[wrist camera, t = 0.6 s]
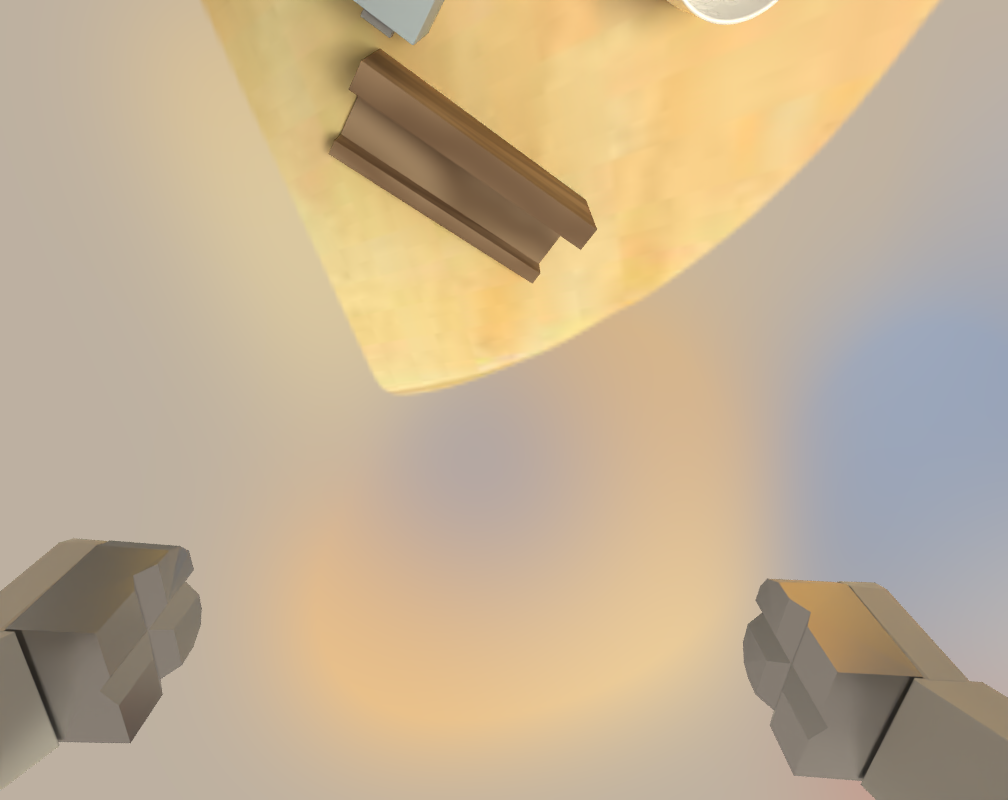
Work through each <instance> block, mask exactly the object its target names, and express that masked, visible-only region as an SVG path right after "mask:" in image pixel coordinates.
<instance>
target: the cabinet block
mask: <svg viewBox="0 0 1008 800" xmlns="http://www.w3.org/2000/svg"><path fill="white" fill-rule="evenodd" d="M353 1H355V2H356V3H357V4H359V5H360V6H361V7H363V8H364V9H363V11H362V14H361V17H362V18H364V19H365V20H366V21H368V22H369V23H370V24H372V25H373V26H374V27H376V28H377V29H378V30H380V31H381V32H382V33H384V34H385V35H386V36H388V37H389V38H390V37H392V36H393V33H394V31H395V32H396V33H397V34H399V35H400V36H401V37H402V38H404V39H405V40H406V41H408V42H409V43H410V44H412V45H414V44H415V43H417V42H418V41H419V40H420V39H421V38H423V37H424V36H425V35H426V34H427V33H428V32H429V30H430V28H431V26H432V24H433V22H434V20H435V18H436V16H437V14H438V12H439V10H440V8H441V6H442V4H443V2H444V0H353Z"/></svg>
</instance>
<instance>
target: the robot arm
mask: <svg viewBox="0 0 1008 800" xmlns="http://www.w3.org/2000/svg"><path fill="white" fill-rule="evenodd" d="M193 569H194V568H193V565H192V561H191V557H190V553H189V551H188V550H186V549H184V548H182V547H181V546H172V545H158V544H146V543H134V542H121V541H100V540H87V539H71V540H67V541H64V542H60V543H58V544H57V545H56V546H55V547H53V548H52V549H51V550H50V551H49V552H47V553H46V554H45V555H44V556H42V558H40V559H39V560H38V561H36V562H35V563H34V564H33V565H32V566H30V567H29V568H28V569H27V570H26V571H24V572H23V573H22V574H21V575H20V576H18V577H17V578H16V579H15V580H14V581H12V582H11V583H10V584H9V585H7V586H6V587H5V588H4V589H3V590H1V591H0V791H1V790H2V789H3V788H5V787H6V786H7V785H9V784H10V783H11V782H12V781H14V780H15V779H16V778H18V777H19V776H20V775H22V774H23V773H24V772H25V771H27V770H28V769H30V768H31V767H32V766H33V765H35V764H36V763H37V762H39V761H40V760H41V759H43V758H44V757H45V756H47V755H48V754H49V753H51V752H52V751H53V750H54V749H56V748H57V747H58V746H59V742H95V743H131V741H132V740H133V739H134V737H135V735H136V734H137V732H138V731H139V729H140V728H141V726H142V725H143V723H144V722H145V720H146V719H147V717H148V716H149V714H150V713H151V711H152V709H153V708H154V707H155V705H156V704H157V702H158V701H159V699H160V698H161V696H162V687H161V678H163V677H164V676H166V675H167V674H169V673H170V672H172V671H173V670H175V669H177V668H178V667H180V666H181V665H182V664H183V662H184V661H185V659H186V658H187V656H188V654H189V652H190V651H191V650H192V648H193V646H194V643H195V640H196V637H197V634H198V631H199V628H200V625H201V609H202V608H201V603H200V597H199V594H198V593H197V592H196V591H195V590H194V589H193V588H192V587H191V586H190V585H189V584H188V583H187V582H185V581H186V580H187V578H188V577H189V576H190V574H191V573H192V571H193ZM756 602H757V604H758V605H759V607H760V609H761V611H762V613H761V614H760V615H759V616H758V617H756V618H755V619H754V620H752V621H751V622H750V623H749V624H748V626H747V630H746V634H745V637H744V641H743V651H744V664H745V668H746V672H747V675H748V679H749V681H750V683H751V685H752V688H753V690H754V692H755V694H756V695H757V696H758V697H759V698H760V699H761V700H763V701H764V702H765V703H766V704H767V705H769V706H770V707H771V708H772V709H773V710H774V712H773V716H772V720H771V723H770V726H771V729H772V731H773V733H774V735H775V737H776V739H777V741H778V743H779V745H780V747H781V750H782V752H783V754H784V756H785V758H786V760H787V762H788V764H789V766H790V768H791V771H792V772H793V775H794V776H807V777H820V778H833V779H845V780H857V781H862V783H861V785H862V786H863V787H864V788H865V789H866V790H867V791H868V792H869V793H870V794H871V795H872V796H873V797H874V798H875V799H876V800H1008V697H1006V696H1004V695H1003V694H1001V693H999V692H998V691H996V690H994V689H993V688H991V687H989V686H987V685H986V684H984V683H983V682H972V681H969V680H968V679H967V678H966V677H965V676H964V675H963V673H962V672H961V671H960V670H959V669H958V668H957V667H956V666H955V664H953V662H952V661H951V660H950V659H949V658H948V657H947V656H946V655H945V653H944V652H943V651H942V650H941V649H940V648H939V647H938V646H937V645H936V644H935V642H934V641H933V640H932V639H931V638H930V637H929V636H928V635H927V633H926V632H925V631H924V630H923V629H922V628H921V627H920V626H919V625H918V623H917V622H916V621H915V620H914V619H913V618H912V617H911V616H910V615H909V614H908V612H907V611H906V610H905V609H904V608H903V607H902V606H901V605H900V604H899V602H898V601H897V600H896V599H895V598H894V597H893V596H892V595H891V594H890V592H889V591H888V590H887V589H885V588H884V587H882V586H880V585H878V584H876V583H871V582H842V581H840V582H824V581H803V580H783V579H767V580H766V581H765V582H764V583H763V584H762V585H761V586H760V589H759V592H758V595H757V598H756Z"/></svg>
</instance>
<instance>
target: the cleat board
mask: <svg viewBox="0 0 1008 800" xmlns="http://www.w3.org/2000/svg"><path fill="white" fill-rule="evenodd" d="M349 90H350V91H351V92H353V93H354V94H356V95H357V96H358V97H357V99H356V102H355V104H354V106H353V108H352V110H351V113H350V115H349V117H348V119H347V121H346V124H345V126H344V128H343V130H342V132H341V134H340V135H339V136H338V137H337V138H336V139H335V141H334V143H333V145H332V147H331V149H330V152H329V154H330V155H331V156H333V157H334V158H336V159H337V160H339V161H341V162H342V163H344V164H345V165H347V166H348V167H350V168H352V169H353V170H355V171H356V172H358V173H359V174H361V175H363V176H364V177H366V178H367V179H369V180H370V181H372V182H374V183H375V184H377V185H378V186H380V187H381V188H383V189H385V190H386V191H388V192H389V193H391V194H392V195H394V196H396V197H397V198H399V199H400V200H402V201H403V202H405V203H407V204H408V205H410V206H411V207H413V208H415V209H416V210H418V211H419V212H421V213H422V214H424V215H426V216H427V217H429V218H430V219H432V220H433V221H435V222H437V223H438V224H440V225H441V226H443V227H444V228H446V229H448V230H449V231H451V232H452V233H454V234H455V235H457V236H459V237H460V238H462V239H463V240H465V241H466V242H468V243H470V244H471V245H473V246H474V247H476V248H477V249H479V250H481V251H482V252H484V253H485V254H487V255H488V256H490V257H492V258H493V259H495V260H496V261H498V262H499V263H501V264H503V265H504V266H506V267H507V268H509V269H510V270H512V271H514V272H515V273H517V274H518V275H520V276H521V277H523V278H525V279H526V280H528V281H529V282H531V283H533V282H534V281H535V280H536V278H537V277H538V276H539V274H540V268H539V263H540V262H541V260H542V259H543V258H544V256H545V255H546V254H547V253H548V251H549V250H550V249H551V247H552V246H553V245H554V243H555V242H556V241H557V239H558V238H559V237H560V236H562V237H563V238H564V239H566V240H567V241H569V242H570V243H572V244H573V245H575V246H576V247H577V248H579V249H580V250H581V249H582V248H583V246H584V245H585V244H586V243H587V241H588V240H589V239H590V238H591V236H592V235H593V234H594V233H595V231H596V230H597V228H596V225H595V223H594V220H593V218H592V215H591V212H590V210H589V207H588V204H587V202H586V200H585V199H584V198H582V197H581V196H580V195H578V194H577V193H576V192H574V191H573V190H572V189H570V188H569V187H567V186H566V185H565V184H563V183H562V182H561V181H559V180H558V179H557V178H555V177H554V176H552V175H551V174H550V173H548V172H547V171H546V170H544V169H543V168H542V167H540V166H539V165H538V164H536V163H535V162H533V161H532V160H531V159H529V158H528V157H527V156H525V155H524V154H523V153H521V152H520V151H518V150H517V149H516V148H514V147H513V146H512V145H510V144H509V143H508V142H506V141H505V140H503V139H502V138H501V137H499V136H498V135H497V134H495V133H494V132H493V131H491V130H490V129H489V128H487V127H486V126H484V125H483V124H482V123H480V122H479V121H478V120H476V119H475V118H474V117H472V116H471V115H469V114H468V113H467V112H465V111H464V110H463V109H461V108H460V107H459V106H457V105H456V104H454V103H453V102H452V101H450V100H449V99H448V98H446V97H445V96H444V95H442V94H441V93H440V92H438V91H437V90H435V89H434V88H433V87H431V86H430V85H429V84H427V83H426V82H425V81H423V80H422V79H420V78H419V77H418V76H416V75H415V74H414V73H412V72H411V71H410V70H408V69H407V68H405V67H404V66H403V65H401V64H400V63H399V62H397V61H396V60H395V59H393V58H392V57H391V56H389V55H388V54H386V53H385V52H384V51H382V50H381V49H379V50H377V51H376V52H374V53H373V54H371V55H370V56H368V57H366V58H365V59H363V60H362V61H361V63H360V65H359V67H358V69H357V72H356V74H355V76H354V79H353V81H352V83H351V85H350V88H349Z"/></svg>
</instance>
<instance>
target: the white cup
mask: <svg viewBox="0 0 1008 800" xmlns="http://www.w3.org/2000/svg"><path fill="white" fill-rule="evenodd" d="M667 1H668V2H669V3H670V4H671V5H673V6H675V7H676V8H678V9H680V10H682V11H684V12H686V13H689V14H691V15H694V16H696V17H698V18H701V19H703V20H705V21H708V22H711V23H715V24H723V25H727V24H736V23H741V22H744V21H747V20H750V19H752V18H754V17H756V16H758V15H760V14H761V13H763V12H765V11H766V10H767V9H769V8H770V7H771V6H773V5H774V4H775V3H776V2H777V1H778V0H667Z"/></svg>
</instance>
